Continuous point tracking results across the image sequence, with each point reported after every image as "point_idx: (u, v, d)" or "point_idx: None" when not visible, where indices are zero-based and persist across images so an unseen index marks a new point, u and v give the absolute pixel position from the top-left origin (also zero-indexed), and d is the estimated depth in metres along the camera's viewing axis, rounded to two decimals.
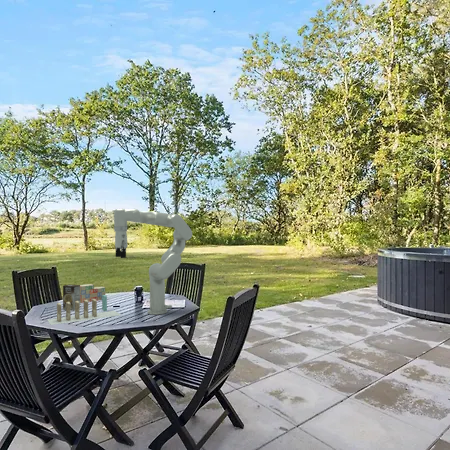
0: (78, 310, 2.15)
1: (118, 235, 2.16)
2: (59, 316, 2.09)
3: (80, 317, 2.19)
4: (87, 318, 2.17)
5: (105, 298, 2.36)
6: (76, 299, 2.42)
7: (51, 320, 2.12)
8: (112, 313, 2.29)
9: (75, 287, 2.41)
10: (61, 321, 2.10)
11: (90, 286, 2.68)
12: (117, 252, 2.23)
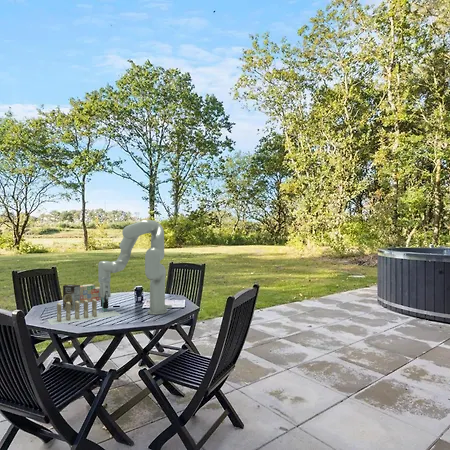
0: (78, 310, 2.15)
1: (102, 286, 2.34)
2: (59, 316, 2.09)
3: (80, 317, 2.19)
4: (87, 318, 2.17)
5: (105, 298, 2.36)
6: (76, 299, 2.42)
7: (51, 320, 2.12)
8: (112, 313, 2.29)
9: (75, 287, 2.41)
10: (61, 321, 2.10)
11: (91, 286, 2.67)
12: None
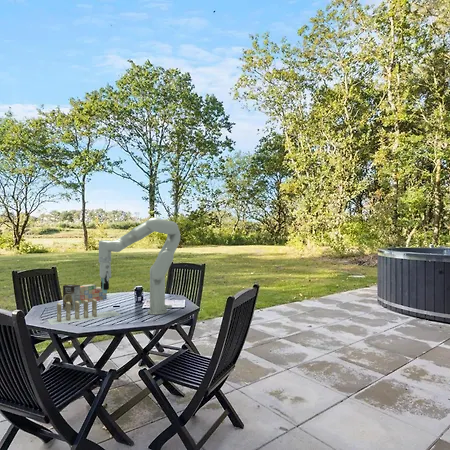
0: (78, 310, 2.15)
1: (102, 266, 2.23)
2: (59, 316, 2.09)
3: (80, 317, 2.19)
4: (87, 318, 2.17)
5: (105, 279, 2.24)
6: (76, 299, 2.42)
7: (51, 320, 2.12)
8: (112, 313, 2.29)
9: (75, 287, 2.41)
10: (61, 321, 2.10)
11: (92, 286, 2.67)
12: None
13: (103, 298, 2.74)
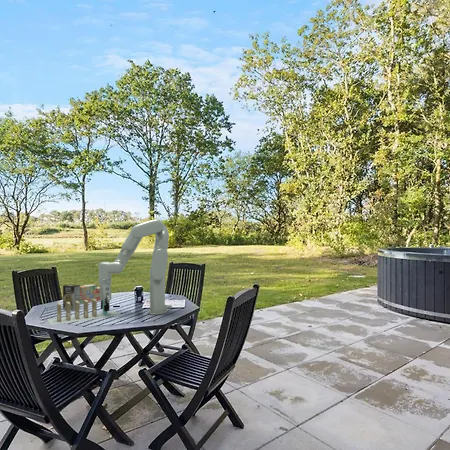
0: (78, 310, 2.15)
1: (102, 288, 2.23)
2: (59, 316, 2.09)
3: (80, 317, 2.19)
4: (87, 318, 2.17)
5: None
6: (76, 299, 2.42)
7: (51, 320, 2.12)
8: (112, 313, 2.29)
9: (75, 287, 2.41)
10: (61, 321, 2.10)
11: (94, 286, 2.67)
12: (102, 304, 2.29)
13: None
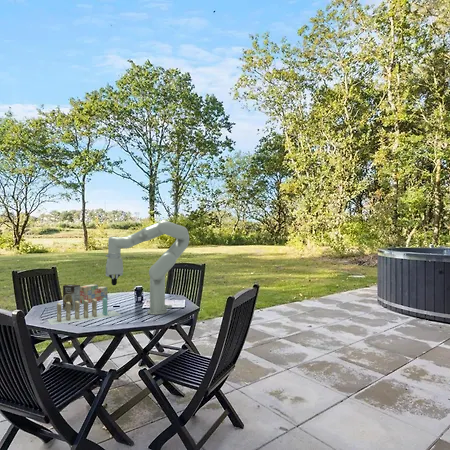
0: (78, 310, 2.15)
1: None
2: (59, 316, 2.09)
3: (80, 317, 2.19)
4: (87, 318, 2.17)
5: (105, 301, 2.24)
6: (76, 299, 2.42)
7: (51, 320, 2.12)
8: (112, 313, 2.29)
9: (75, 287, 2.41)
10: (61, 321, 2.10)
11: (95, 286, 2.68)
12: None
13: None
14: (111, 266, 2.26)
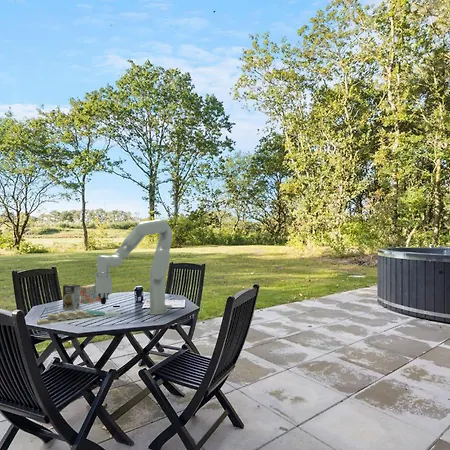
0: (67, 316, 2.12)
1: None
2: (52, 321, 2.07)
3: None
4: (87, 318, 2.17)
5: (90, 312, 2.19)
6: (76, 299, 2.42)
7: None
8: (112, 313, 2.29)
9: (75, 287, 2.41)
10: (61, 321, 2.10)
11: None
12: None
13: None
14: (100, 285, 2.22)
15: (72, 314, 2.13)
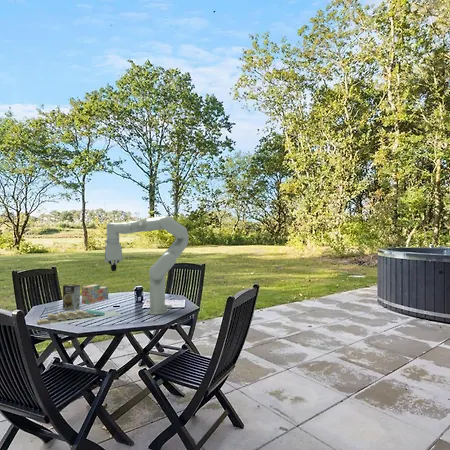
0: (67, 316, 2.12)
1: None
2: (52, 321, 2.07)
3: None
4: (87, 318, 2.17)
5: (90, 312, 2.19)
6: (76, 299, 2.42)
7: None
8: (112, 313, 2.29)
9: (75, 287, 2.41)
10: (61, 321, 2.10)
11: (97, 286, 2.68)
12: None
13: (105, 298, 2.76)
14: (110, 252, 2.26)
15: (72, 314, 2.13)
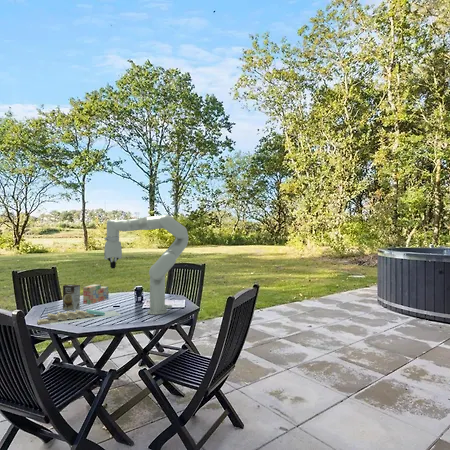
0: (67, 316, 2.12)
1: None
2: (52, 321, 2.07)
3: None
4: (87, 318, 2.17)
5: (90, 312, 2.19)
6: (76, 299, 2.42)
7: None
8: (112, 313, 2.29)
9: (75, 287, 2.41)
10: (61, 321, 2.10)
11: (98, 286, 2.68)
12: None
13: (106, 297, 2.76)
14: (110, 249, 2.26)
15: (72, 314, 2.13)
